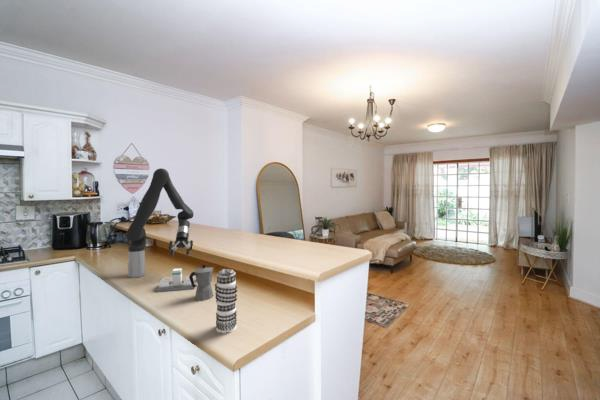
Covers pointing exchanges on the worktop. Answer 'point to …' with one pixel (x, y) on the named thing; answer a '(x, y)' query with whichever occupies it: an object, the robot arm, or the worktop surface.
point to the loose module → (177, 277)
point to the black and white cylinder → (226, 301)
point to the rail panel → (168, 286)
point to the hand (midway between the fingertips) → (179, 255)
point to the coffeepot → (203, 282)
